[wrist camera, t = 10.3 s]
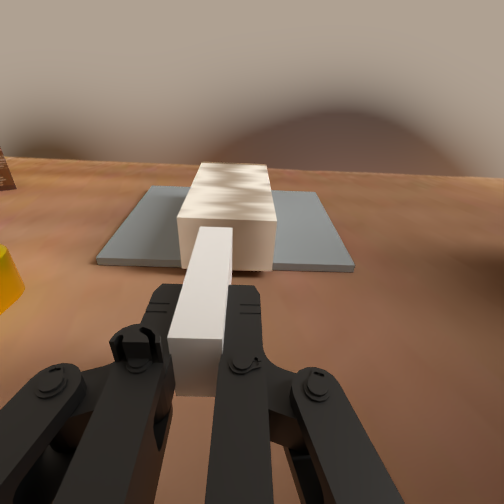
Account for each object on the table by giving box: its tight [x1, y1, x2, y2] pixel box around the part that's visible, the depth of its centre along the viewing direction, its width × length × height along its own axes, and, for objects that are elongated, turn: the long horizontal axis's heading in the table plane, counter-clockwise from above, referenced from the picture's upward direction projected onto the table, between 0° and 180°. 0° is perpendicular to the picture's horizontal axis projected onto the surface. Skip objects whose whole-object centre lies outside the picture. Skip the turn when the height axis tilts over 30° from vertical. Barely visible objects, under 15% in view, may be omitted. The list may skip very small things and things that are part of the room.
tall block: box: [177, 162, 277, 271], centre depth 32 cm, size 8×5×16 cm
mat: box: [96, 186, 355, 272], centre depth 36 cm, size 24×19×1 cm
